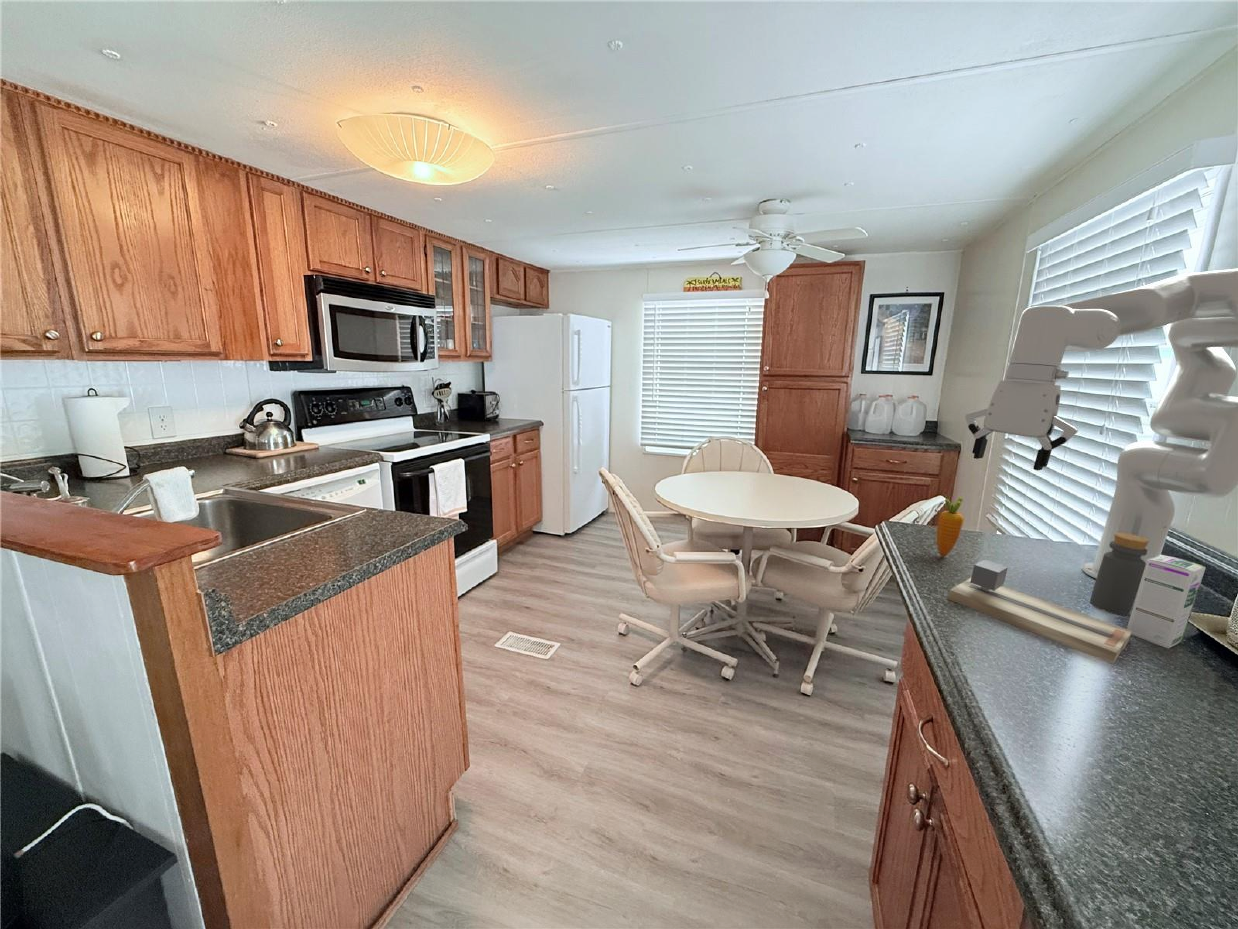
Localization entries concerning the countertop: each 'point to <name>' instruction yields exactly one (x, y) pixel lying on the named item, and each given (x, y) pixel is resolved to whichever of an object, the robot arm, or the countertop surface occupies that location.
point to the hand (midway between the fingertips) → (1006, 463)
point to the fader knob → (988, 575)
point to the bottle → (1120, 574)
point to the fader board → (1045, 619)
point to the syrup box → (1165, 600)
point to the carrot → (949, 528)
